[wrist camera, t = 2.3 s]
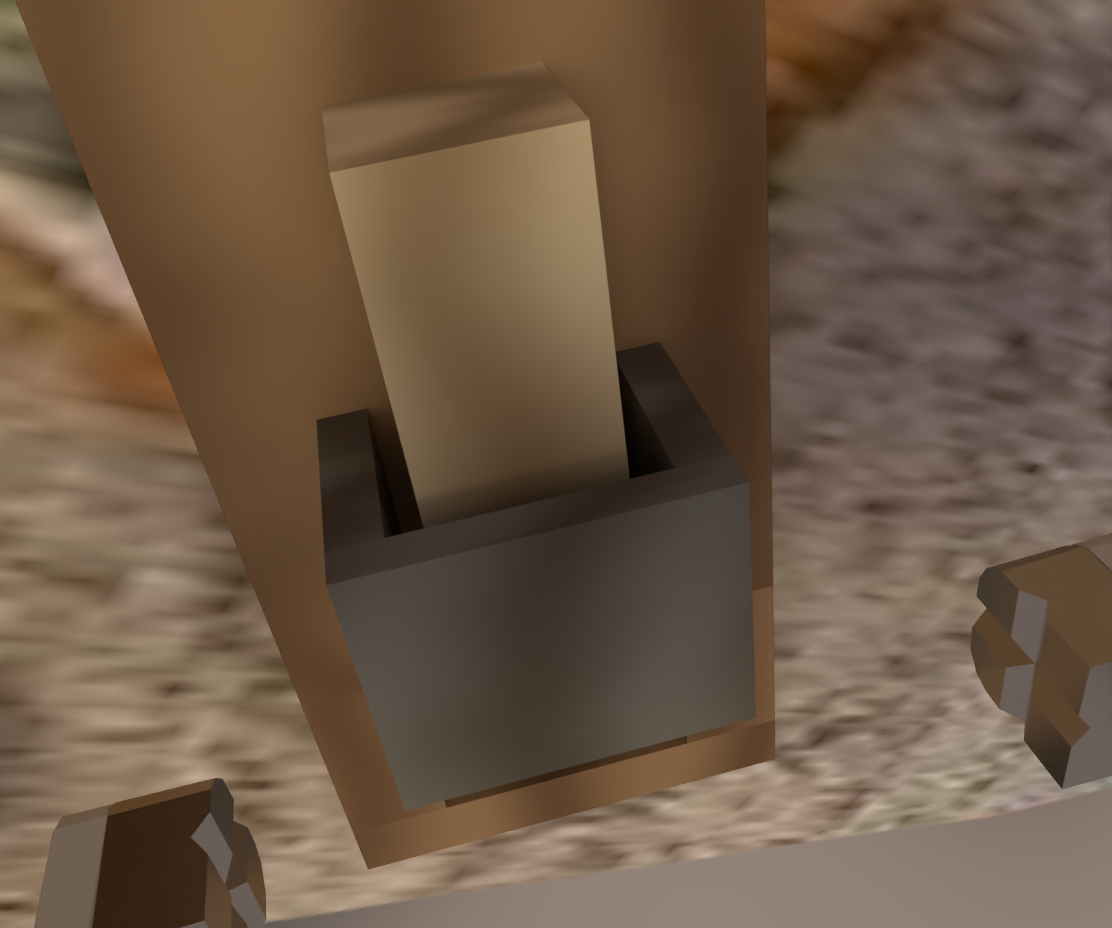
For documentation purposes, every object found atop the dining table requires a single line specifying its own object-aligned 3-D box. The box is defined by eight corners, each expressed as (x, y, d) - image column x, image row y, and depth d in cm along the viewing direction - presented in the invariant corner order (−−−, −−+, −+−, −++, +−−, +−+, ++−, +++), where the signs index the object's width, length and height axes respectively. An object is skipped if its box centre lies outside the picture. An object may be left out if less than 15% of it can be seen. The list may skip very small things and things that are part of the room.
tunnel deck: (707, -477, 19) (948, -593, 12) (748, 704, 38) (853, 918, 31) (-89, -357, 18) (-318, -416, 11) (363, 806, 36) (383, 1053, 30)
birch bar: (541, 61, 21) (589, 119, 18) (611, 574, 30) (652, 677, 26) (321, 105, 21) (329, 173, 18) (453, 613, 29) (475, 723, 26)
